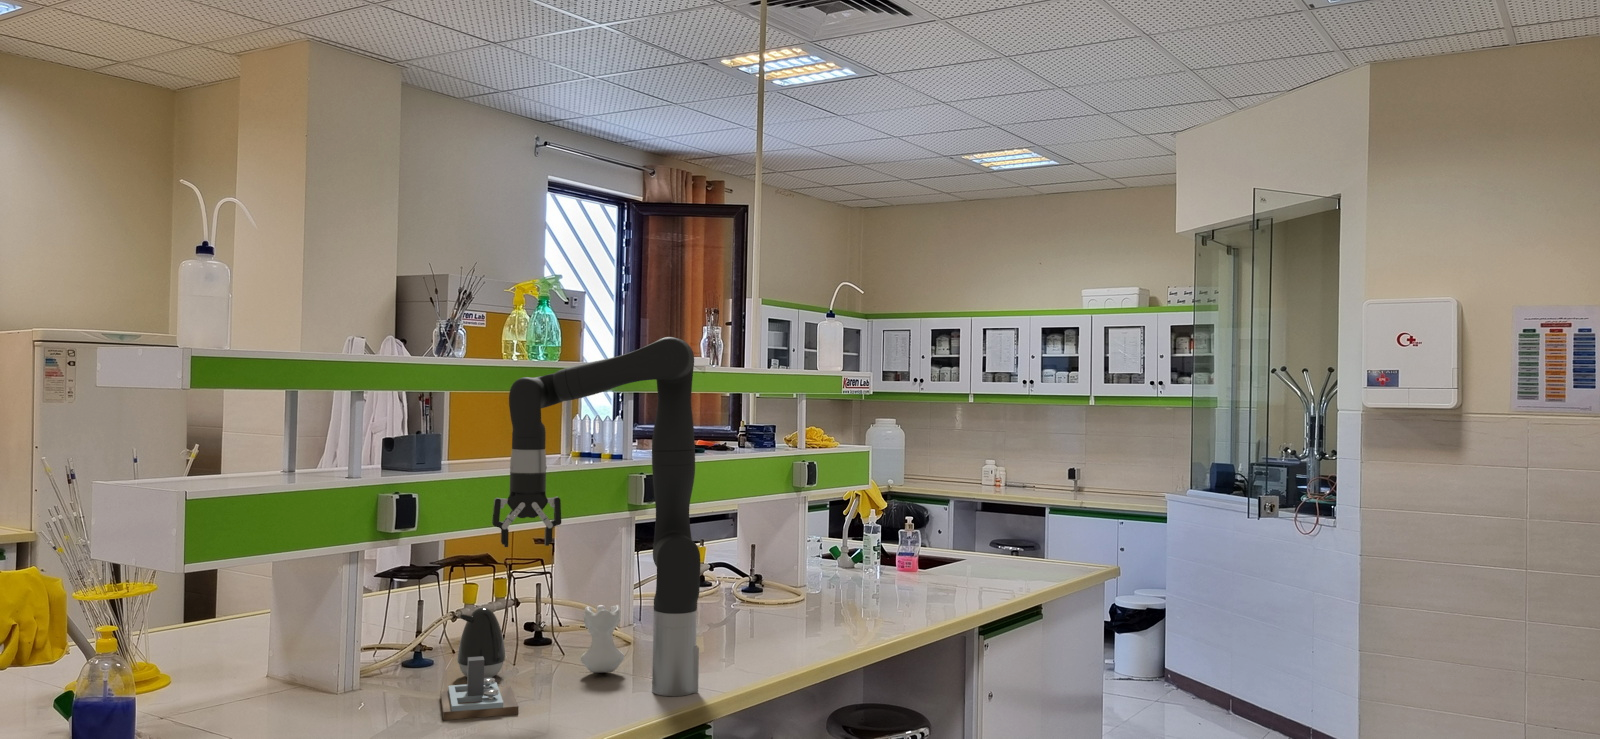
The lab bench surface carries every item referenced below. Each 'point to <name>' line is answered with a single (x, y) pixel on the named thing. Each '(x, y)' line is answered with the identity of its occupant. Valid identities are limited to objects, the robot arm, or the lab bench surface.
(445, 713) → the walnut board
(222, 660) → the lab bench surface
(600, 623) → the white scalloped vase
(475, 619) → the pump dispenser
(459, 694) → the keyhole panel
